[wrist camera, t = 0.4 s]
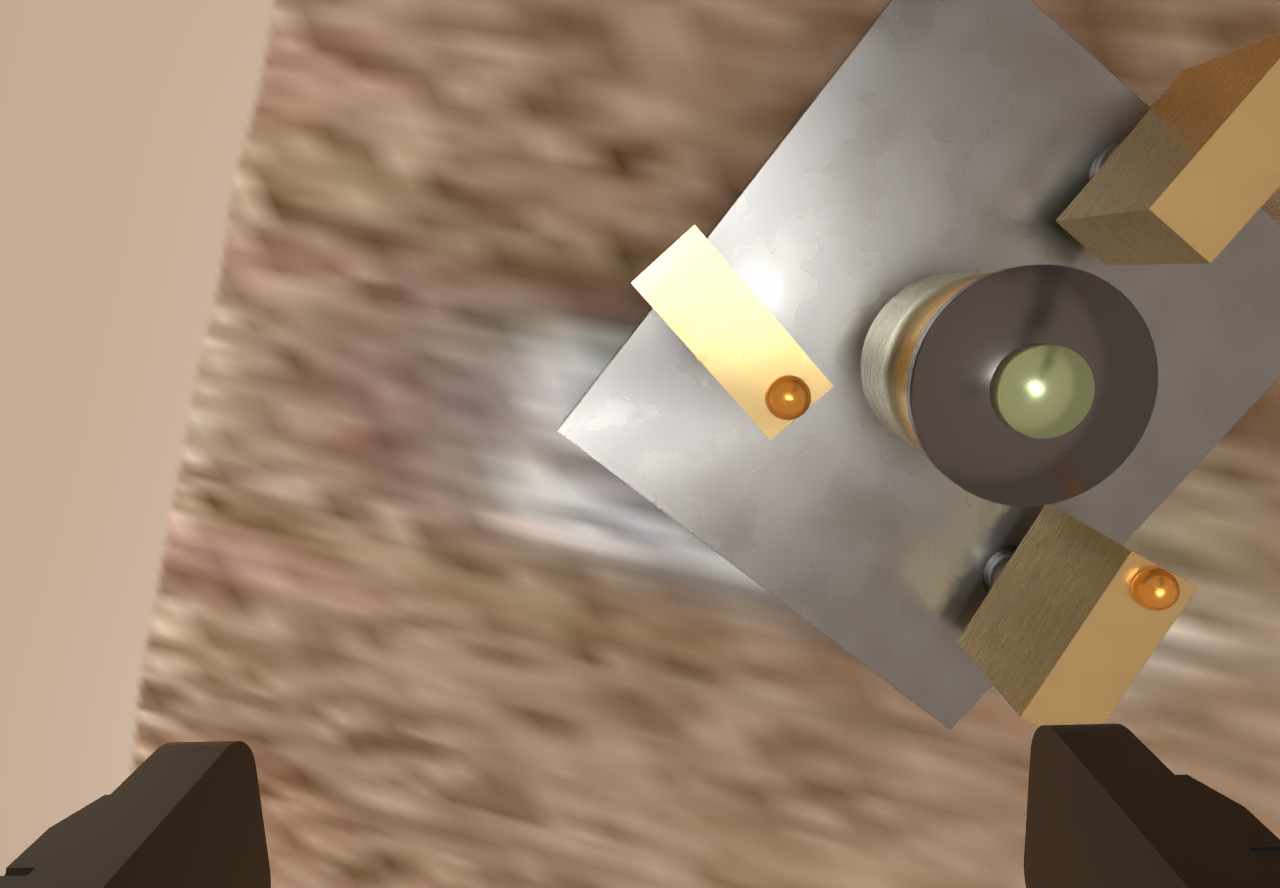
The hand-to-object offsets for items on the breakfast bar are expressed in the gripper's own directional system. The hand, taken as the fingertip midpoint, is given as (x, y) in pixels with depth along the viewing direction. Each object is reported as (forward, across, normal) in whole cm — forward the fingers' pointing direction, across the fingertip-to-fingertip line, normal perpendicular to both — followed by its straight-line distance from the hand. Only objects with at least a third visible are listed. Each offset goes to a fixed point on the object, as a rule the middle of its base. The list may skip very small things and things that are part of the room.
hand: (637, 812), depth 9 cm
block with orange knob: (+22, -16, -8) cm, 28 cm away
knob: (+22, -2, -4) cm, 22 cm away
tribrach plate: (+24, -10, -2) cm, 26 cm away
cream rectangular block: (+22, -13, +6) cm, 26 cm away
